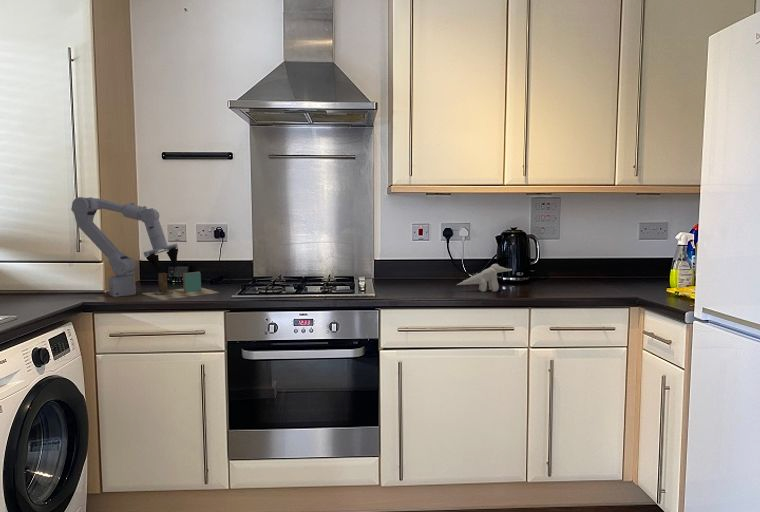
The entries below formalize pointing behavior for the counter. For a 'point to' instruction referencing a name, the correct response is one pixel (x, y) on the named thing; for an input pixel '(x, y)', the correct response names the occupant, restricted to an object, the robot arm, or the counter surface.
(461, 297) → the counter surface
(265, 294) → the counter surface
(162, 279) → the wooden post on base
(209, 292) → the board
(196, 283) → the tile
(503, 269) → the dinosaur statue
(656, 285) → the counter surface
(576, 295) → the counter surface
